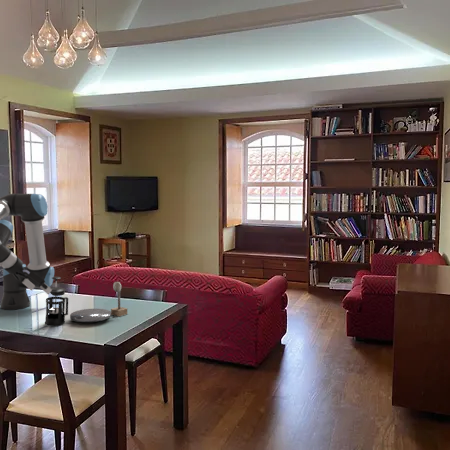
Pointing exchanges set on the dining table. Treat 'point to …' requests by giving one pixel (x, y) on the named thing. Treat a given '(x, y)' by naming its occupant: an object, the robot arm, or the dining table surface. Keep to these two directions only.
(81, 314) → the disc
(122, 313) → the dial gauge stand
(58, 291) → the french press
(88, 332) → the dining table surface
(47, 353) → the dining table surface
